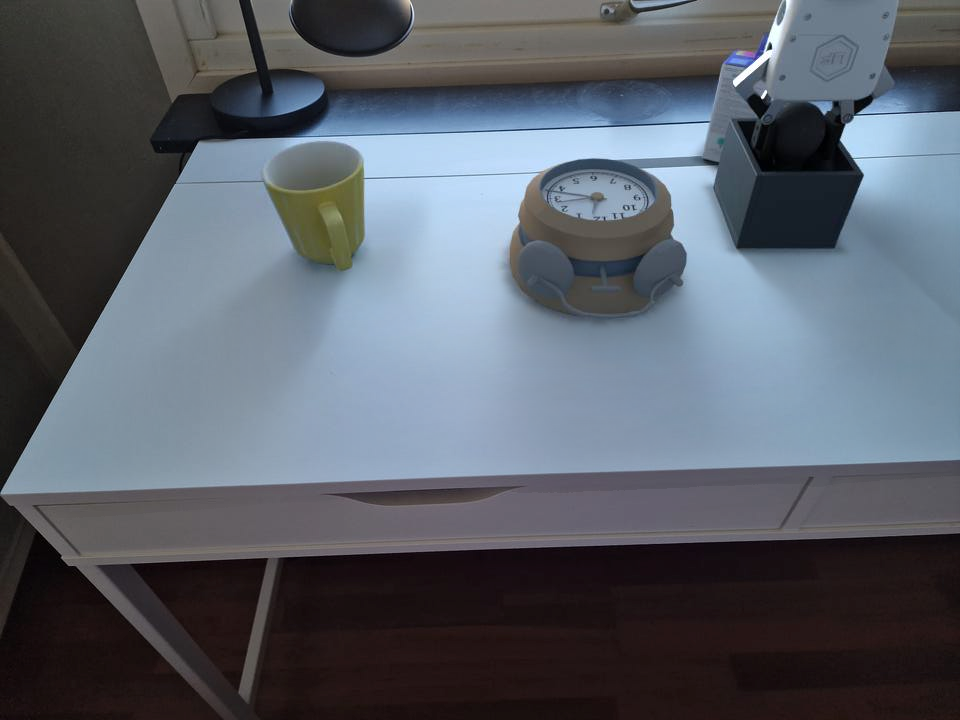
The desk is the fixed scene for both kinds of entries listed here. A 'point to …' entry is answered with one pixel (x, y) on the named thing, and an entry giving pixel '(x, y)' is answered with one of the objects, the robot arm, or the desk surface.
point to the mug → (319, 199)
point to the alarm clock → (596, 240)
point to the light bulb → (797, 135)
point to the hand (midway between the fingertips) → (791, 152)
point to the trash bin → (783, 194)
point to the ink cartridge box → (730, 100)
